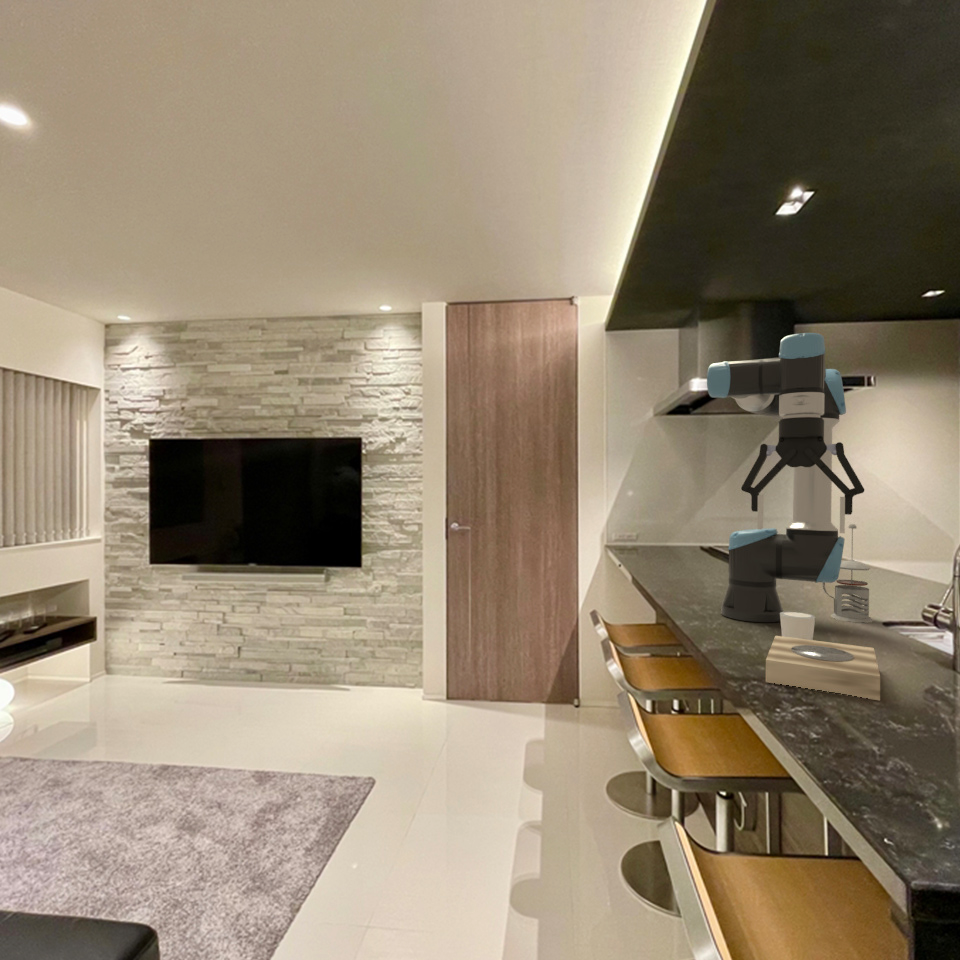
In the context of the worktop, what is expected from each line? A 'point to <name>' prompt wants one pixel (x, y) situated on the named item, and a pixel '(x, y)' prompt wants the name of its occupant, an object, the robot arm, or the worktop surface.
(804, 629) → the tapered cream cylinder
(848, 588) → the french press
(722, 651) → the worktop surface
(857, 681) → the birch stand
